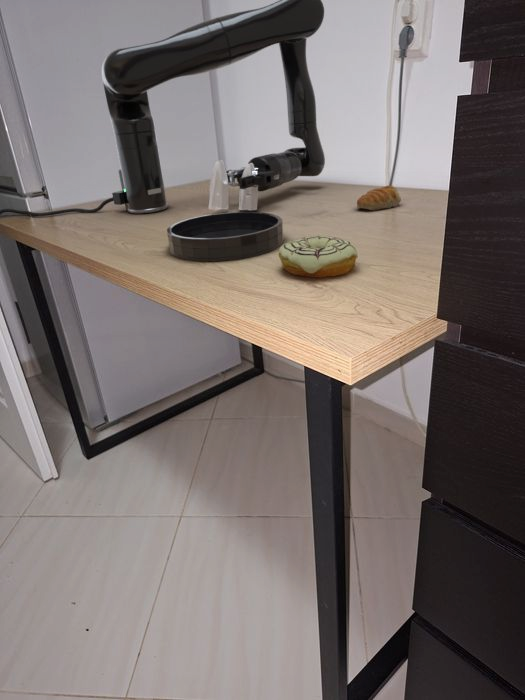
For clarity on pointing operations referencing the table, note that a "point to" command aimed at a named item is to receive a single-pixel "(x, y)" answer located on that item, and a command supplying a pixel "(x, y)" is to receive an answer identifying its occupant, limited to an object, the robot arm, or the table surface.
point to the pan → (225, 236)
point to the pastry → (379, 198)
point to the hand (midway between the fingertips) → (226, 183)
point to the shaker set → (221, 190)
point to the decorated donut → (318, 256)
